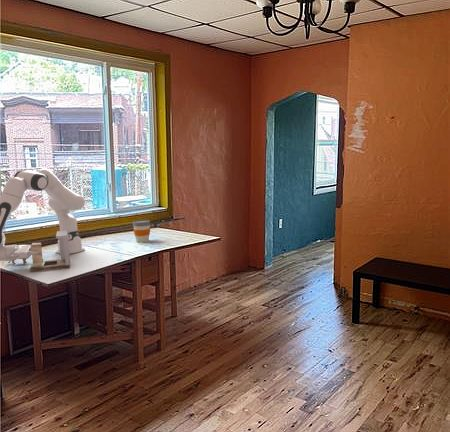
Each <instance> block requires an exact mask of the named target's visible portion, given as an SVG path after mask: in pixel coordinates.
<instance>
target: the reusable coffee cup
mask: <svg viewBox="0 0 450 432" xmlns="http://www.w3.org/2000/svg"><path fill="white" fill-rule="evenodd" d="M132 226H133V234H134V238H135V241H136V243H141V244H143V243H149V240H150V234H151V227H150V226H151V221H150V220H149V219H138V220H133V221H132Z"/></svg>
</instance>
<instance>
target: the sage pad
mask: <svg viewBox="0 0 450 432" xmlns="http://www.w3.org/2000/svg"><path fill="white" fill-rule="evenodd" d="M44 264H45V262H43V264H42V265H33V262H31V264H30V265H31V266H30V268H31V267H37V266H44Z"/></svg>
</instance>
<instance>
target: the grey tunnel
mask: <svg viewBox="0 0 450 432" xmlns="http://www.w3.org/2000/svg"><path fill="white" fill-rule="evenodd" d="M55 239H58V240H59V242H60V253H59V254H60V259H61V260H64V259H65V263H66V265H69V259H70V260H71V258H70V257H71V256H70V254H69V243H68V231H67V230H66V231H60V230H57V231H56V234H55Z"/></svg>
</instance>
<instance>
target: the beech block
mask: <svg viewBox="0 0 450 432" xmlns="http://www.w3.org/2000/svg"><path fill="white" fill-rule="evenodd" d="M30 245H31V250H32V251H38V254H34V255H31V256H32V257H31V258H32V263H33V265H42V264H43V261H44V260H43V249H42V243H41V242H32V243H31V244H30Z"/></svg>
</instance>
